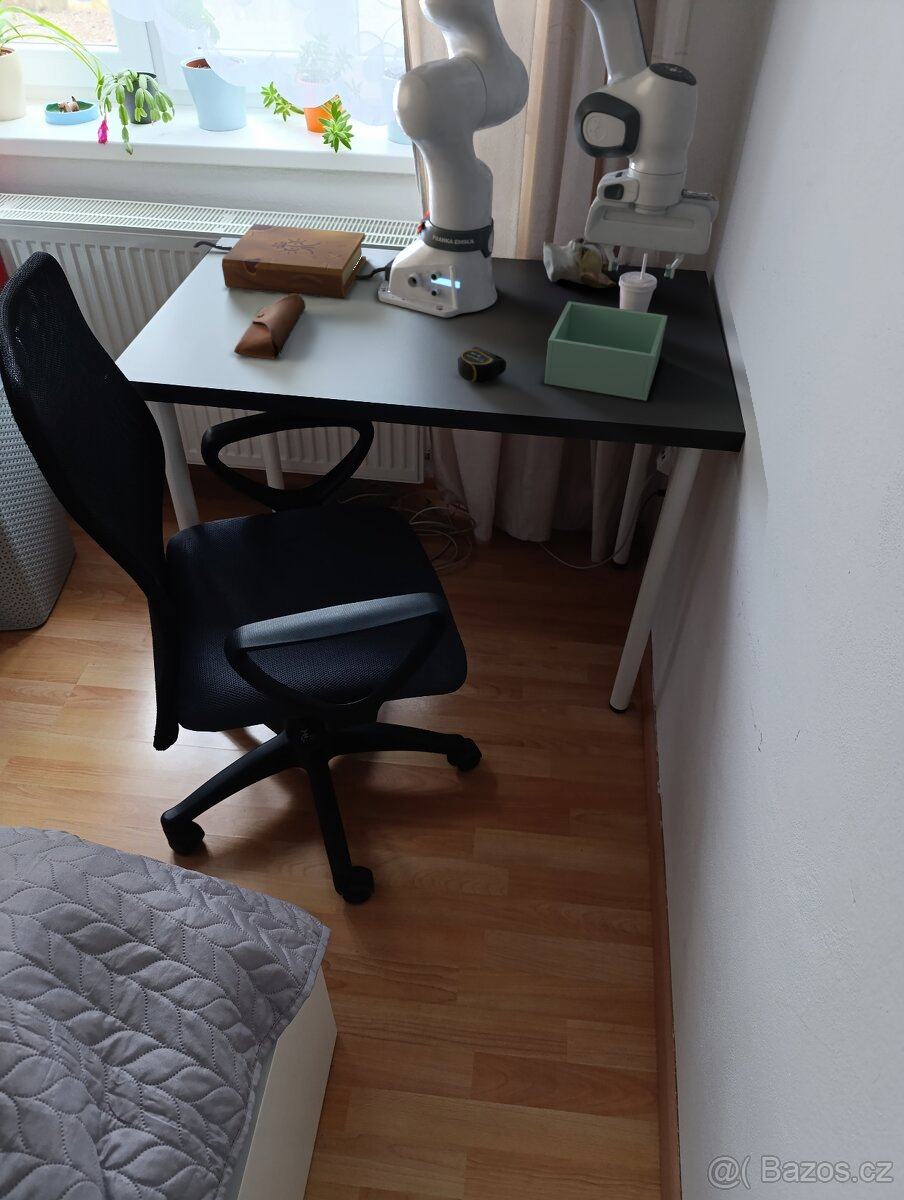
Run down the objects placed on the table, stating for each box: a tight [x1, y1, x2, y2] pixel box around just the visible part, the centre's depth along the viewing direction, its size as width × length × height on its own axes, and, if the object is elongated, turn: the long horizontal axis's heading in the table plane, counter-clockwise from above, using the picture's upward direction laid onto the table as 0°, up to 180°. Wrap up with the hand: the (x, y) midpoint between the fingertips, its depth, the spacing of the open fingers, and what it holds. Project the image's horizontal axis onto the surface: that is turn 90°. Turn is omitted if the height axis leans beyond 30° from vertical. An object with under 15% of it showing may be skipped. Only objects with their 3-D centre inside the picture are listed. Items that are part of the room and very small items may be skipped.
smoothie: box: [618, 252, 658, 313], centre depth 143 cm, size 6×6×14 cm
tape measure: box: [457, 345, 507, 384], centre depth 135 cm, size 7×7×4 cm
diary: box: [221, 223, 367, 299], centre depth 162 cm, size 23×19×6 cm
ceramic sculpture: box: [542, 237, 618, 289], centre depth 160 cm, size 11×9×15 cm
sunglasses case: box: [233, 293, 306, 360], centre depth 145 cm, size 18×7×7 cm, turn 174°
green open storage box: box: [544, 300, 668, 401], centre depth 136 cm, size 17×15×8 cm
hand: (640, 273), depth 141 cm, fingers open, 8 cm apart
